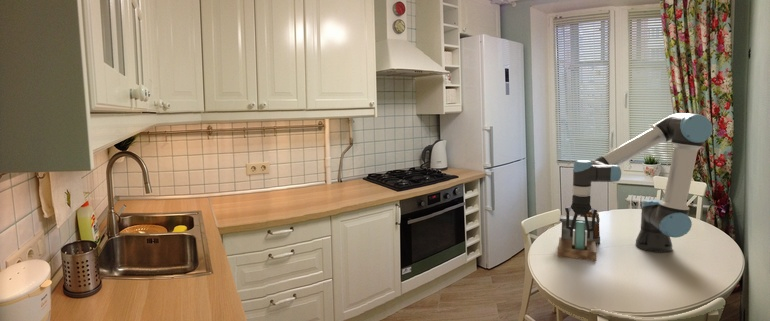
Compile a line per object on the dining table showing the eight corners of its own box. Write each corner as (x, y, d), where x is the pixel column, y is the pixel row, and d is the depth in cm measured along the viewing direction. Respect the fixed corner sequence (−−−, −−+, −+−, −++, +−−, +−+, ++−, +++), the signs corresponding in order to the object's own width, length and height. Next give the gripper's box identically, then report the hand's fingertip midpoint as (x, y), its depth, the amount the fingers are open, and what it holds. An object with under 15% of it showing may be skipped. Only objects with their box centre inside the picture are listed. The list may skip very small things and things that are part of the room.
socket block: (594, 248, 216) (596, 217, 213) (596, 260, 200) (597, 227, 198) (559, 244, 222) (560, 215, 220) (557, 256, 206) (558, 224, 204)
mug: (602, 245, 219) (604, 216, 217) (579, 245, 221) (580, 215, 219) (594, 235, 234) (595, 207, 232) (573, 235, 236) (574, 207, 234)
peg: (583, 254, 208) (585, 221, 206) (583, 257, 204) (585, 223, 202) (574, 253, 210) (575, 220, 207) (574, 256, 206) (575, 223, 204)
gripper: (602, 194, 203) (600, 243, 206) (560, 191, 210) (559, 239, 213) (603, 197, 196) (601, 249, 199) (560, 195, 203) (558, 244, 206)
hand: (579, 244), depth 206 cm, fingers open, 4 cm apart
